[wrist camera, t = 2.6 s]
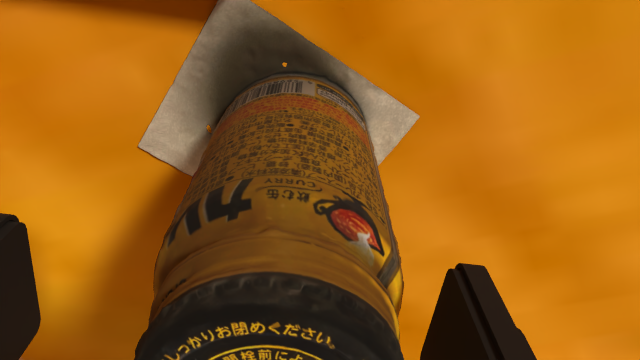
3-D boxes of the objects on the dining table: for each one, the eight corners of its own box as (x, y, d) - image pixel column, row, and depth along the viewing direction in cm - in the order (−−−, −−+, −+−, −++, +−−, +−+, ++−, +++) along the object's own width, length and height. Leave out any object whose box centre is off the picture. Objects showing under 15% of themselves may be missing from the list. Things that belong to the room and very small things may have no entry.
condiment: (314, 241, 22) (314, 545, 11) (138, 144, 19) (-70, 413, 9) (419, 114, 19) (550, 360, 8) (228, -18, 17) (78, 95, 6)
